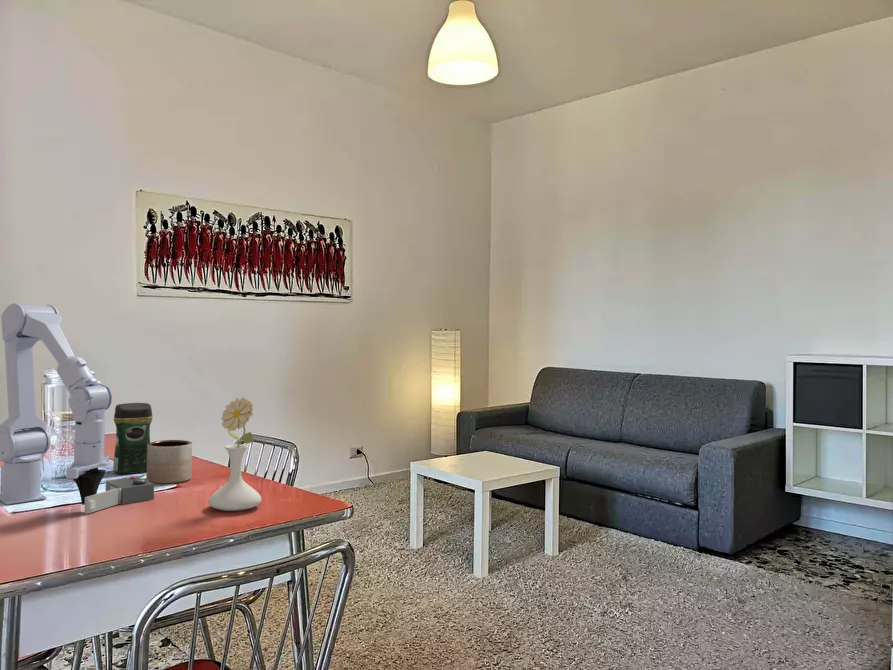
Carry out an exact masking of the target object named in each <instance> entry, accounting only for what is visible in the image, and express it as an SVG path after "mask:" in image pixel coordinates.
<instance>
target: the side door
mask: <svg viewBox="0 0 893 670" xmlns="http://www.w3.org/2000/svg"><path fill="white" fill-rule="evenodd" d="M116 505H121V488H115V489H112V490H108V491H106V490H105V491H102V492H99V493H96V494H95V495H91V496H87V497H85V505H84V514H85V515H86V514H88V515H89V514H91V513H95V512H97V511H100V510H103V509H108V508H110V507H113V506H116Z"/></svg>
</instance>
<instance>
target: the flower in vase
mask: <svg viewBox="0 0 893 670" xmlns="http://www.w3.org/2000/svg"><path fill="white" fill-rule="evenodd" d="M253 407H254V404H253V403H252V401H250V400H249V399H248V398H246V397H245V396H242V397H241V398H238V397H236V398H235V400H231V401H230V403H229V404H226V405H225V409H224V410H223V412H222V417H221V421H222V423H221V426H222V428H224V429H227V433H228V435H230V436H231V437H232V438H234V439H236V440H237V441H239V442H238V443H236V444H235V443H233V444H227V445H225V446H224V449H225V450H226V451H227V453H228V455H229V462H230V475H229V479H228V480H227V481H226V483H224V484H223V485H222V486H221V487H220V488H218V489H217V490H216V491H214V493H213V494H212V495H211V496H209V499H208V501H207V503H208V504H209V506H210V507H211V508H214V509H215V510H218V511H219V510H220V511H233V512H235V511H243V510H244V511H245V510H248V509H253V508H254V507H256V506H258V505H259V504H261V502H262V500H263V499H262V497H261V495H260V493H259V492H258V491H257V490H255V489H254V488H253V487H252V486H250V485H249V484H248V483H247V482H245V481H244V479H243V477H242V464H243V463H242V461H243V457H244V454H245V452H246V450H248V447H249V445H248V444H251V443H255V439H254V437H253V436H254V435H253V434H252V433H253V432H251V431H249V432H247V433H246V427H245V426H246V424H247V422H249V421H250V418H251V417H252V416H253V411H254V408H253ZM241 428H243V434H242V436H241V438H240V437H239V436H238V435H237V434H235V433H233V432H232V431H236V430H237V429H238V430H240V429H241ZM242 441H243V444H241V443H242Z"/></svg>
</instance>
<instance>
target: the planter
mask: <svg viewBox="0 0 893 670" xmlns="http://www.w3.org/2000/svg"><path fill="white" fill-rule="evenodd" d="M192 476H193V442H192V441H189V440H183V439H165V440H163V439H162V440H157V441H156V440H155V441H150V443H148V447H147V471H146V481H148V482H151V483H153V484H154V483H155V484H154V485H175V484H176V485H177V484H181V483H182V484H183V483H185V482H188V481H189V480H190V479H192Z"/></svg>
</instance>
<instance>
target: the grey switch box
mask: <svg viewBox="0 0 893 670" xmlns="http://www.w3.org/2000/svg"><path fill="white" fill-rule="evenodd" d="M115 488H121V504H122V505H125V504H133V503H137V502H144V501H151V500H154V499H155V484H154V483H151V482H149V481H147V478H146V479H144V478H141V477H140V476H130V477H125V478H124V477H123V478H117V479H107V480H105V491H108V490H112V489H115ZM121 504H120V505H121Z"/></svg>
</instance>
